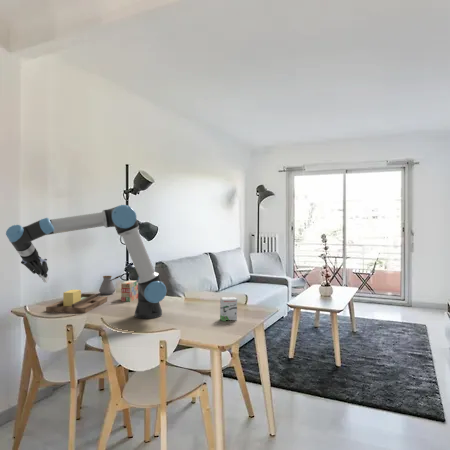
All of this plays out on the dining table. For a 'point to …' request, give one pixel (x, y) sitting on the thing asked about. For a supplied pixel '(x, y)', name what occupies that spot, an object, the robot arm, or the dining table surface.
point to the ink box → (228, 308)
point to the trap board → (78, 304)
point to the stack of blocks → (129, 290)
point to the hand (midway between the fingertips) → (46, 280)
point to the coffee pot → (108, 285)
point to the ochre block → (71, 297)
